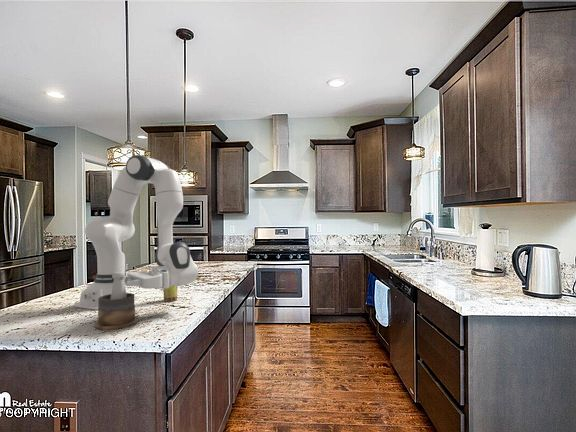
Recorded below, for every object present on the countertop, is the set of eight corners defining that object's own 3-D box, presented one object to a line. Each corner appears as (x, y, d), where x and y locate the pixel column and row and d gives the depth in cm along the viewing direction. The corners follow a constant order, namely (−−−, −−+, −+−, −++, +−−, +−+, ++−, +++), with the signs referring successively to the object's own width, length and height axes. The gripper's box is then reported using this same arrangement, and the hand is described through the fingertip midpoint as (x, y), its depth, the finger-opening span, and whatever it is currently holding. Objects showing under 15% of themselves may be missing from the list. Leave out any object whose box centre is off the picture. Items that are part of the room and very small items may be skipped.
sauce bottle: (179, 300, 156) (179, 258, 156) (167, 302, 152) (167, 259, 152) (173, 298, 161) (173, 257, 161) (160, 300, 156) (160, 258, 156)
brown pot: (85, 328, 115) (85, 300, 116) (113, 317, 129) (113, 291, 129) (120, 331, 113) (120, 301, 113) (145, 319, 126) (145, 293, 126)
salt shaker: (114, 305, 124) (114, 270, 124) (129, 304, 124) (129, 270, 125) (106, 309, 118) (106, 273, 118) (123, 309, 119) (123, 272, 119)
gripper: (149, 267, 139) (113, 270, 130) (169, 272, 125) (131, 276, 115) (149, 281, 139) (113, 286, 130) (169, 289, 124) (131, 294, 115)
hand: (121, 282), depth 122 cm, fingers open, 8 cm apart
